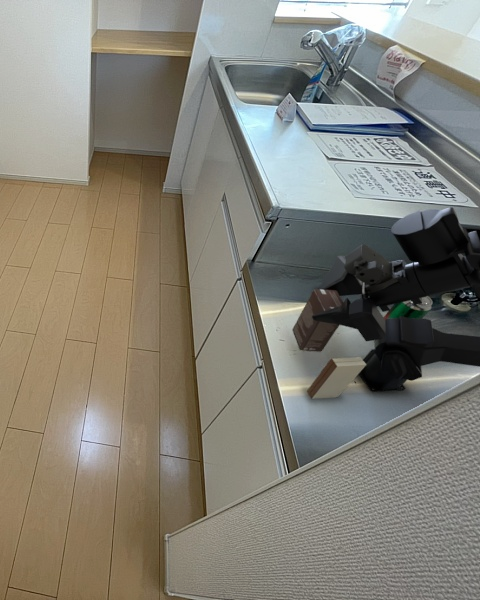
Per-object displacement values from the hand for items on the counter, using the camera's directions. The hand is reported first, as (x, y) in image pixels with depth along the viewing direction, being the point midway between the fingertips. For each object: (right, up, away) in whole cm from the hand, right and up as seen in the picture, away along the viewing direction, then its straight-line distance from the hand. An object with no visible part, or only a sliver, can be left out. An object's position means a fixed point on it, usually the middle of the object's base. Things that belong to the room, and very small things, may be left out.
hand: (314, 306), depth 67 cm
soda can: (+22, -7, +10) cm, 26 cm away
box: (+2, -8, +6) cm, 10 cm away
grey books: (+16, +2, +20) cm, 26 cm away
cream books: (+2, -17, +1) cm, 18 cm away
